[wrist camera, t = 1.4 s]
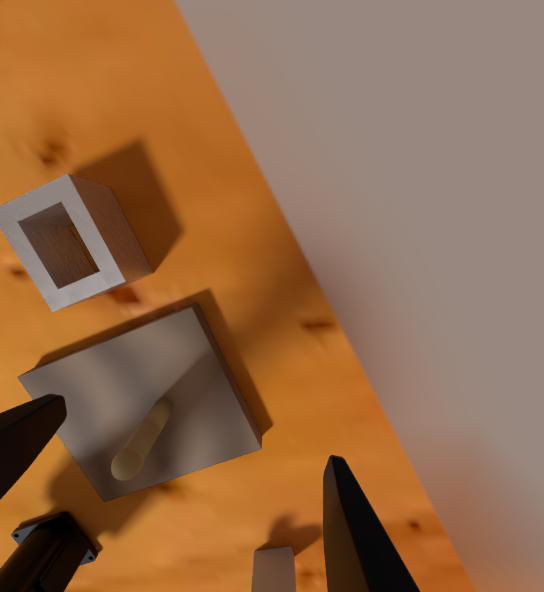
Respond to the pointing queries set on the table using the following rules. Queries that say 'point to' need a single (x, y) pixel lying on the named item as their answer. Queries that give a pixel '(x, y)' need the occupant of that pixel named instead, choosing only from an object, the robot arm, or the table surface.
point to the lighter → (274, 570)
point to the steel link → (73, 240)
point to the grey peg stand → (148, 404)
